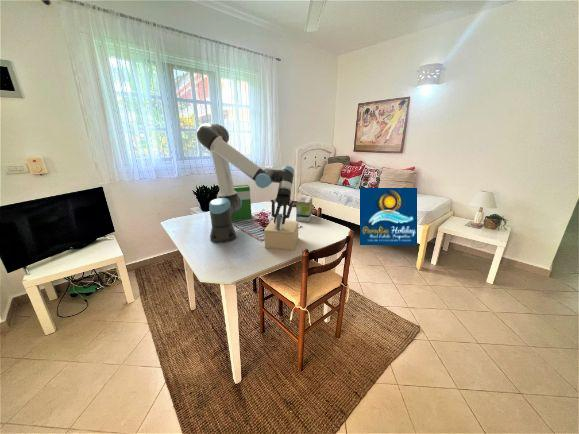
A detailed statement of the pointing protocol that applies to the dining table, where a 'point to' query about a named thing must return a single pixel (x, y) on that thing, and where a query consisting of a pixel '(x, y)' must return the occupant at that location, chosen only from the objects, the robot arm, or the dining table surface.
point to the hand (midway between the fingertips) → (278, 229)
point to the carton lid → (286, 228)
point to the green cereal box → (243, 203)
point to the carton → (281, 240)
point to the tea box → (304, 209)
